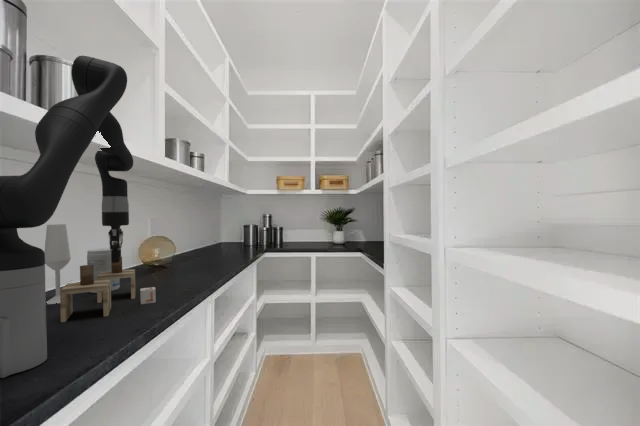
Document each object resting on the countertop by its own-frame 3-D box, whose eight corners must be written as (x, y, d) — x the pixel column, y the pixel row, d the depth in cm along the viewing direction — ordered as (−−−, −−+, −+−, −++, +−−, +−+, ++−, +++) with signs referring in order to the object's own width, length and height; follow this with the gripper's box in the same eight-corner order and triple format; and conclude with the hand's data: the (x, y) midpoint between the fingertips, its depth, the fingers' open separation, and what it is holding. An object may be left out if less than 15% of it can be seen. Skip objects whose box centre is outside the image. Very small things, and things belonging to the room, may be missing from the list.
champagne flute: (51, 299, 110) (49, 224, 110) (75, 297, 111) (73, 224, 112) (39, 304, 103) (38, 225, 103) (65, 302, 105) (63, 224, 105)
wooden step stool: (108, 316, 90) (107, 266, 90) (60, 322, 85) (59, 269, 85) (111, 307, 98) (110, 261, 98) (68, 312, 94) (67, 265, 94)
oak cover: (134, 298, 109) (133, 257, 109) (97, 302, 104) (96, 260, 104) (135, 292, 118) (134, 254, 118) (100, 296, 113) (100, 256, 113)
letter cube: (155, 302, 103) (155, 289, 103) (140, 304, 101) (140, 290, 101) (155, 299, 107) (154, 286, 107) (140, 301, 105) (140, 288, 105)
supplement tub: (111, 286, 129) (110, 247, 129) (125, 289, 124) (124, 248, 124) (82, 292, 120) (81, 250, 120) (96, 294, 115) (95, 251, 115)
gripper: (127, 210, 107) (129, 262, 106) (129, 211, 119) (130, 258, 119) (99, 210, 103) (100, 264, 103) (104, 211, 116) (104, 259, 116)
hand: (116, 261), depth 111 cm, fingers open, 8 cm apart
